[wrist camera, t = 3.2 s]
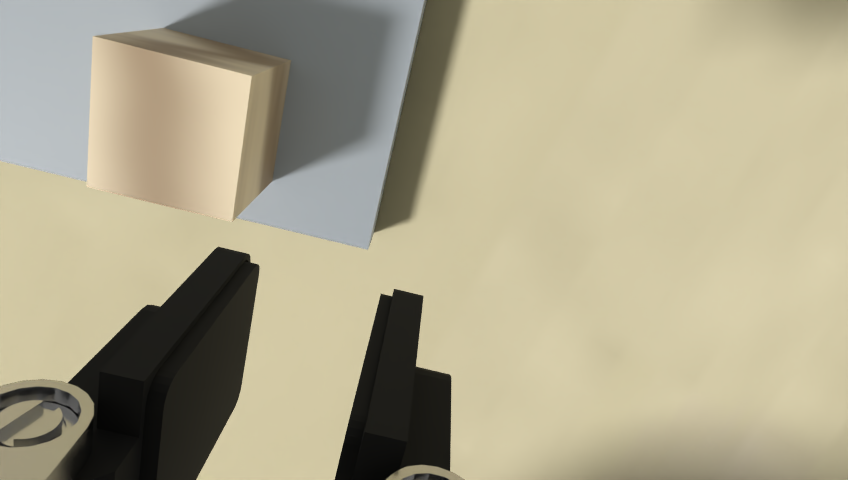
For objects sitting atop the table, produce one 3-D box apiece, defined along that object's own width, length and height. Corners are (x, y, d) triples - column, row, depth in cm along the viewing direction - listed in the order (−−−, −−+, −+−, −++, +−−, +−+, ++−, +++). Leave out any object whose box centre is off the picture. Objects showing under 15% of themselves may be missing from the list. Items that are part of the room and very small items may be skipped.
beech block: (291, 60, 24) (251, 76, 20) (272, 181, 26) (232, 221, 21) (163, 27, 24) (92, 35, 19) (153, 152, 26) (86, 186, 21)
